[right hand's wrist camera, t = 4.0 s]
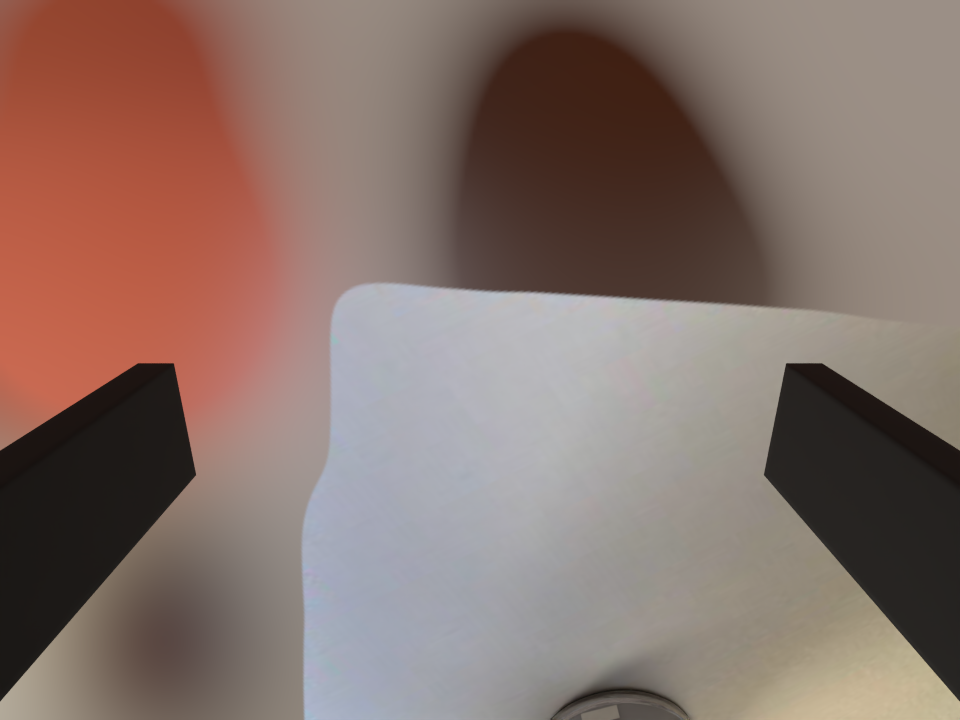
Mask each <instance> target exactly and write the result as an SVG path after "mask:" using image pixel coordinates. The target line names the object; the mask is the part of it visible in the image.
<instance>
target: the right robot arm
mask: <svg viewBox="0 0 960 720" xmlns="http://www.w3.org/2000/svg"><path fill="white" fill-rule="evenodd" d="M195 476H196V472H195V467H194V462H193V457H192V452H191V447H190V442H189V437H188V432H187V427H186V422H185V417H184V412H183V407H182V402H181V397H180V392H179V387H178V382H177V377H176V372H175V367H174V364H173V363H138V364H136V365H135V366H133V367H132V368H130V369H128V370H127V371H125V372H124V373H122V374H121V375H119V376H118V377H116V378H114V379H113V380H111V381H110V382H108V383H106V384H105V385H103V386H102V387H100V388H99V389H97V390H95V391H94V392H92V393H91V394H89V395H87V396H86V397H84V398H83V399H81V400H80V401H78V402H76V403H75V404H73V405H72V406H70V407H69V408H67V409H65V410H64V411H62V412H61V413H59V414H58V415H56V416H54V417H53V418H51V419H50V420H48V421H46V422H45V423H43V424H42V425H40V426H38V427H37V428H35V429H34V430H32V431H31V432H29V433H27V434H26V435H24V436H23V437H21V438H20V439H18V440H16V441H15V442H13V443H12V444H10V445H9V446H7V447H5V448H4V449H2V450H1V451H0V701H1V700H2V699H3V697H4V696H5V695H6V694H7V693H8V692H9V691H10V689H11V688H12V687H13V686H14V685H15V684H16V682H17V681H18V680H19V679H20V678H21V677H22V676H23V674H24V673H25V672H26V671H27V670H28V669H29V667H30V666H31V665H32V664H33V663H34V662H35V661H36V659H37V658H38V657H39V656H40V655H41V654H42V652H43V651H44V650H45V649H46V648H47V647H48V645H49V644H50V643H51V642H52V641H53V640H54V638H55V637H56V636H57V635H58V634H59V633H60V632H61V630H62V629H63V628H64V627H65V626H66V625H67V624H68V622H69V621H70V620H71V619H72V618H73V617H74V615H75V614H76V613H77V612H78V611H79V610H80V609H81V607H82V606H83V605H84V604H85V603H86V602H87V600H88V599H89V598H90V597H91V596H92V595H93V593H94V592H95V591H96V590H97V589H98V588H99V586H100V585H101V584H102V583H103V582H104V581H105V580H106V578H107V577H108V576H109V575H110V574H111V573H112V572H113V570H114V569H115V568H116V567H117V566H118V565H119V563H120V562H121V561H122V560H123V559H124V558H125V556H126V555H127V554H128V553H129V552H130V551H131V550H132V548H133V547H134V546H135V545H136V544H137V543H138V541H139V540H140V539H141V538H142V537H143V536H144V535H145V533H146V532H147V531H148V530H149V529H150V528H151V526H152V525H153V524H154V523H155V522H156V521H157V520H158V518H159V517H160V516H161V515H162V514H163V513H164V511H165V510H166V509H167V508H168V507H169V506H170V504H171V503H172V502H173V501H174V500H175V499H176V498H177V496H178V495H179V494H180V493H181V492H182V491H183V489H184V488H185V487H186V486H187V485H188V484H189V483H190V481H191V480H192V479H193V478H194V477H195ZM764 476H765V477H766V478H767V479H768V480H769V481H770V483H771V484H772V485H773V486H774V487H775V488H776V489H777V491H778V492H779V493H780V494H781V495H782V496H783V498H784V499H785V500H786V501H787V502H788V503H789V505H790V506H791V507H792V508H793V509H794V510H795V511H796V513H797V514H798V515H799V516H800V517H801V518H802V520H803V521H804V522H805V523H806V524H807V525H808V526H809V528H810V529H811V530H812V531H813V532H814V533H815V535H816V536H817V537H818V538H819V539H820V540H821V541H822V543H823V544H824V545H825V546H826V547H827V548H828V550H829V551H830V552H831V553H832V554H833V555H834V557H835V558H836V559H837V560H838V561H839V562H840V563H841V565H842V566H843V567H844V568H845V569H846V570H847V572H848V573H849V574H850V575H851V576H852V577H853V578H854V580H855V581H856V582H857V583H858V584H859V585H860V587H861V588H862V589H863V590H864V591H865V592H866V593H867V595H868V596H869V597H870V598H871V599H872V600H873V602H874V603H875V604H876V605H877V606H878V607H879V609H880V610H881V611H882V612H883V613H884V614H885V615H886V617H887V618H888V619H889V620H890V621H891V622H892V624H893V625H894V626H895V627H896V628H897V629H898V630H899V632H900V633H901V634H902V635H903V636H904V637H905V639H906V640H907V641H908V642H909V643H910V644H911V645H912V647H913V648H914V649H915V650H916V651H917V652H918V654H919V655H920V656H921V657H922V658H923V659H924V661H925V662H926V663H927V664H928V665H929V666H930V667H931V669H932V670H933V671H934V672H935V673H936V674H937V676H938V677H939V678H940V679H941V680H942V681H943V682H944V684H945V685H946V686H947V687H948V688H949V689H950V691H951V692H952V693H953V694H954V695H955V696H956V697H957V699H958V700H959V701H960V451H959V450H958V449H956V448H955V447H953V446H951V445H950V444H948V443H947V442H945V441H944V440H942V439H940V438H939V437H937V436H936V435H934V434H933V433H931V432H929V431H928V430H926V429H925V428H923V427H922V426H920V425H918V424H917V423H915V422H914V421H912V420H910V419H909V418H907V417H906V416H904V415H903V414H901V413H899V412H898V411H896V410H895V409H893V408H892V407H890V406H888V405H887V404H885V403H884V402H882V401H880V400H879V399H877V398H876V397H874V396H873V395H871V394H869V393H868V392H866V391H865V390H863V389H862V388H860V387H858V386H857V385H855V384H854V383H852V382H850V381H849V380H847V379H846V378H844V377H843V376H841V375H839V374H838V373H836V372H835V371H833V370H832V369H830V368H828V367H827V366H825V365H824V364H822V363H786V367H785V372H784V377H783V382H782V387H781V392H780V397H779V402H778V407H777V412H776V417H775V422H774V427H773V432H772V437H771V442H770V447H769V452H768V457H767V462H766V467H765V472H764ZM551 720H690V719H689V718H688V716H687V715H686V714H685V713H684V712H683V711H682V710H681V709H680V708H679V707H677V706H676V705H675V704H673V703H672V702H670V701H668V700H666V699H664V698H662V697H659V696H656V695H653V694H650V693H645V692H640V691H629V690H619V691H608V692H602V693H597V694H594V695H590V696H587V697H584V698H582V699H580V700H577V701H575V702H573V703H571V704H570V705H568V706H567V707H565V708H564V709H562V710H561V711H560V712H558V713H557V714H556V715H555V716H554V717H553V718H552V719H551Z"/></svg>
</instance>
